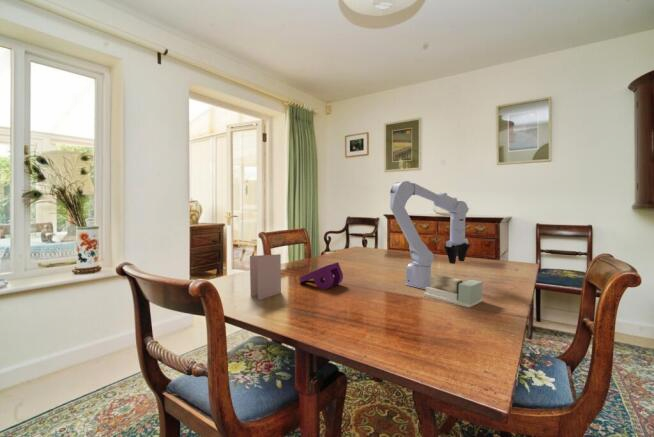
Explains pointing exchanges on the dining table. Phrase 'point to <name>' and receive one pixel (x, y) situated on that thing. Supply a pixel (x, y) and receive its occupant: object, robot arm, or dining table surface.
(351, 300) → the dining table surface
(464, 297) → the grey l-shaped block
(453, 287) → the beige and brown block
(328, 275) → the mounting bracket
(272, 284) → the greeting card
